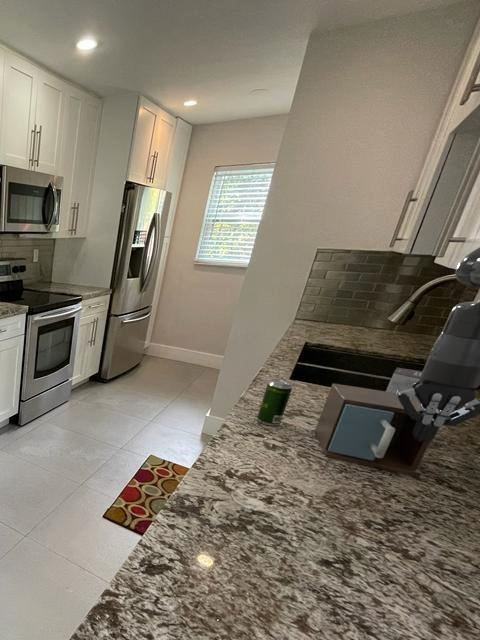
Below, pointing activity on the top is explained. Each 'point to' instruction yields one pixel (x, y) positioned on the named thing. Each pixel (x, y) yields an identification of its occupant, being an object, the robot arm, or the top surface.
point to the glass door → (363, 432)
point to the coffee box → (403, 379)
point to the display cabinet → (403, 445)
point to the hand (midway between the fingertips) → (420, 439)
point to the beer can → (274, 402)
